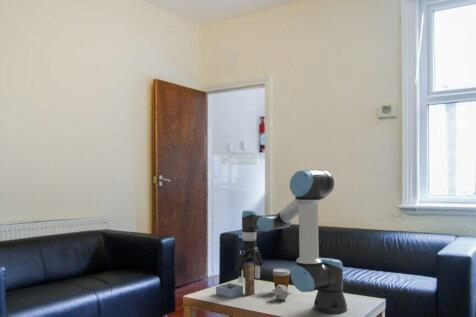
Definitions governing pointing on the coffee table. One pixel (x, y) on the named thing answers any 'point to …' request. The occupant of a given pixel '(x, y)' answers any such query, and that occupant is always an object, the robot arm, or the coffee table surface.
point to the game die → (281, 292)
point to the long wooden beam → (249, 279)
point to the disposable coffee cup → (281, 277)
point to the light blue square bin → (229, 290)
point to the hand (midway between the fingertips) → (249, 280)
